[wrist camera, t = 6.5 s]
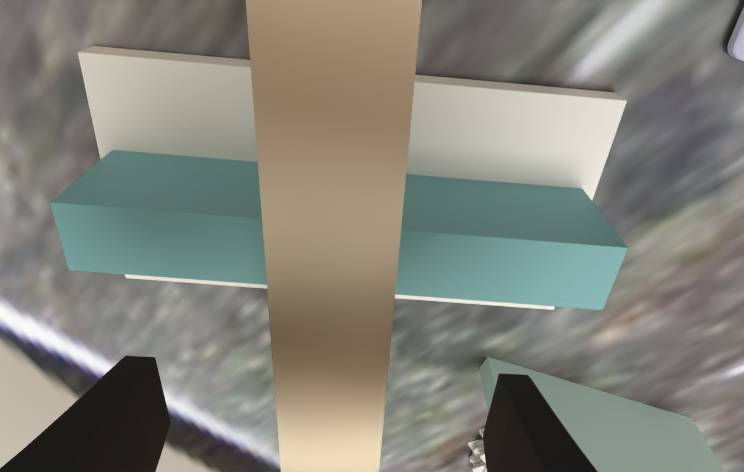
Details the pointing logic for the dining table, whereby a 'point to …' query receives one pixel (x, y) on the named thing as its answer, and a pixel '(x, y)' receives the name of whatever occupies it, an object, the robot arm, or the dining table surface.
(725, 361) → the dining table surface
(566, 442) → the robot arm
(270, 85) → the beech bar
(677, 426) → the l-shaped corner panel
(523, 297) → the stand
